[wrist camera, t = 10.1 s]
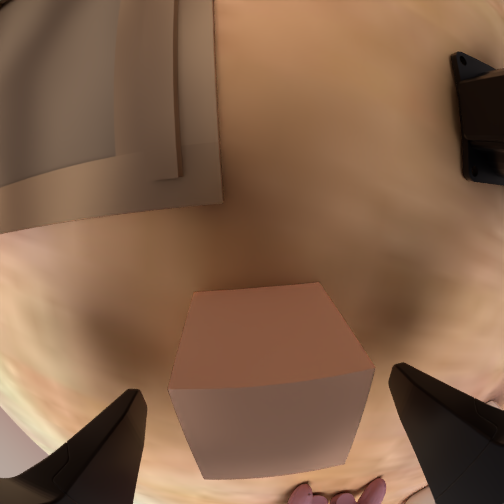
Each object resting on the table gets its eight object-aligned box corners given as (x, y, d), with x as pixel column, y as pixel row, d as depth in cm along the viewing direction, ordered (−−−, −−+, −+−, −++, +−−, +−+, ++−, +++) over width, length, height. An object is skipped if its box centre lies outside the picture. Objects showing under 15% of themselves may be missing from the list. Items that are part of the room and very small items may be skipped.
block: (318, 281, 11) (375, 367, 6) (312, 373, 13) (344, 464, 8) (194, 291, 11) (167, 388, 6) (210, 383, 13) (204, 479, 7)
